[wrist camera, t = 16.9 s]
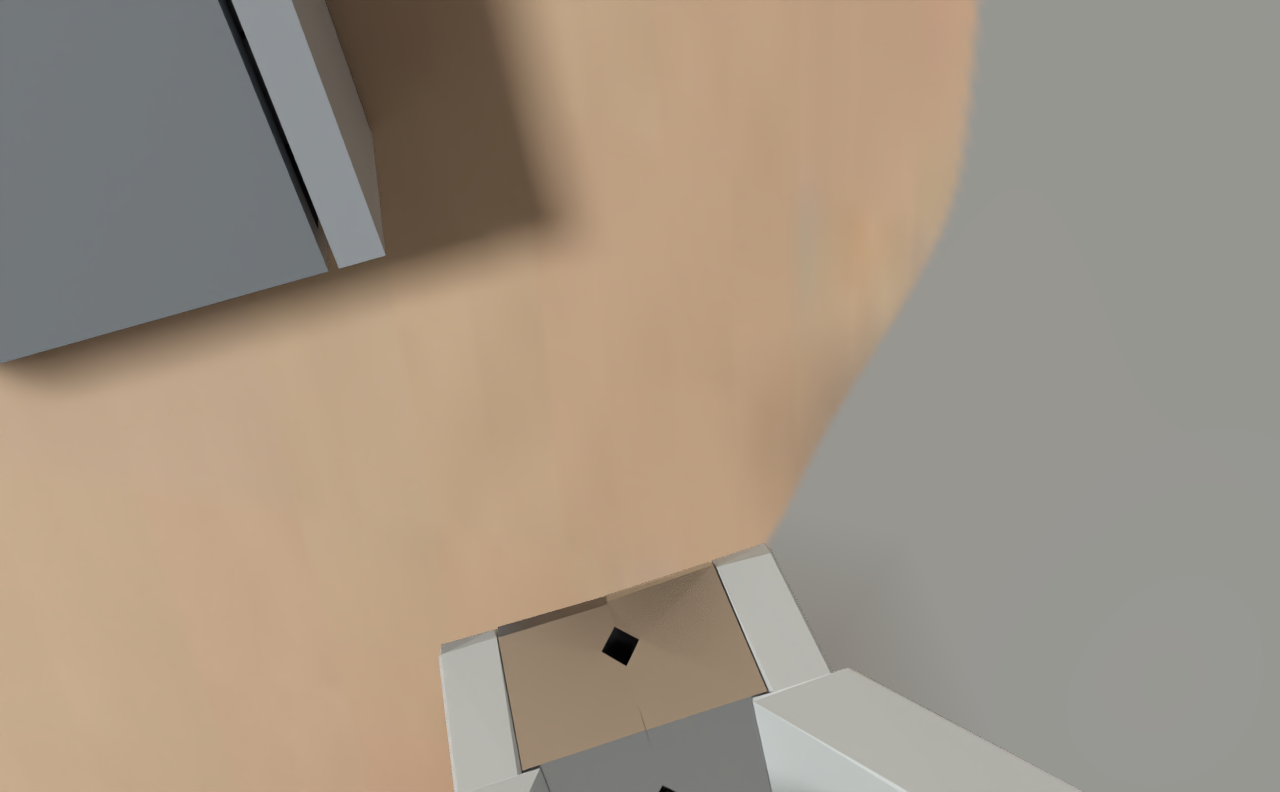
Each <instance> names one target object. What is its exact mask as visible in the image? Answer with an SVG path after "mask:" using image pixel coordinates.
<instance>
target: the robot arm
mask: <svg viewBox="0 0 1280 792" xmlns="http://www.w3.org/2000/svg"><path fill="white" fill-rule="evenodd" d="M439 665H440V673H441V682H442V690H443V699H444V707H445V716H446V724H447V732H448V741H449V749H450V758H451V766H452V775H453V783H454V792H1083V791H1081V790H1079V789H1077V788H1075V787H1073V786H1071V785H1069V784H1067V783H1066V782H1064V781H1062V780H1060V779H1058V778H1056V777H1055V776H1053V775H1051V774H1049V773H1047V772H1045V771H1043V770H1042V769H1040V768H1038V767H1036V766H1034V765H1032V764H1030V763H1028V762H1027V761H1025V760H1023V759H1021V758H1019V757H1017V756H1015V755H1013V754H1011V753H1010V752H1008V751H1006V750H1004V749H1002V748H1000V747H998V746H996V745H995V744H993V743H991V742H989V741H987V740H985V739H983V738H982V737H980V736H978V735H976V734H974V733H972V732H970V731H968V730H966V729H964V728H963V727H961V726H959V725H957V724H955V723H953V722H951V721H950V720H948V719H946V718H944V717H942V716H940V715H938V714H936V713H935V712H933V711H931V710H929V709H927V708H925V707H923V706H921V705H919V704H918V703H916V702H914V701H912V700H910V699H908V698H906V697H905V696H903V695H901V694H899V693H897V692H895V691H893V690H891V689H889V688H888V687H886V686H884V685H882V684H880V683H878V682H876V681H875V680H873V679H871V678H869V677H867V676H865V675H863V674H861V673H859V672H858V671H856V670H854V669H852V668H846V669H843V670H840V671H836V672H833V670H832V668H831V666H830V664H829V662H828V660H827V658H826V656H825V654H824V652H823V650H822V648H821V646H820V644H819V643H818V641H817V639H816V637H815V635H814V633H813V631H812V629H811V627H810V625H809V623H808V621H807V619H806V617H805V615H804V613H803V611H802V609H801V607H800V605H799V603H798V601H797V599H796V597H795V595H794V593H793V591H792V589H791V587H790V585H789V583H788V581H787V579H786V577H785V575H784V574H783V571H782V570H781V568H780V565H779V564H778V562H777V560H776V558H775V556H774V554H773V552H772V550H771V549H770V548H769V547H768V546H766V545H765V544H764V543H763V544H760V545H757V546H754V547H751V548H748V549H745V550H742V551H739V552H736V553H733V554H730V555H727V556H724V557H721V558H718V559H715V560H712V563H710V562H707V563H704V564H701V565H698V566H695V567H692V568H689V569H686V570H682V571H679V572H676V573H673V574H670V575H667V576H664V577H661V578H658V579H655V580H652V581H648V582H645V583H642V584H639V585H636V586H633V587H630V588H627V589H624V590H621V591H618V592H615V593H611V594H608V595H605V596H604V597H600V598H597V599H593V600H590V601H586V602H583V603H580V604H576V605H573V606H569V607H566V608H562V609H559V610H555V611H552V612H548V613H545V614H541V615H538V616H535V617H531V618H528V619H524V620H521V621H517V622H514V623H510V624H507V625H503V626H500V627H498V629H495V630H491V631H488V632H484V633H481V634H477V635H474V636H470V637H466V638H463V639H459V640H456V641H452V642H449V643H445V644H442V645H441V650H440V655H439Z"/></svg>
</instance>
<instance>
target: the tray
mask: <svg viewBox="0 0 1280 792" xmlns="http://www.w3.org/2000/svg"><path fill="white" fill-rule="evenodd" d="M226 2H227V5H228V7H229V10H230V12H231V15H232V17H233V20H234V22H235V25H236V27H237V30H238V32H239V35H240V37H241V39H242V42H243V44H244V47H245V49H246V52H247V54H248V57H249V59H250V62H251V64H252V67H253V69H254V72H255V74H256V77H257V79H258V82H259V84H260V87H261V89H262V92H263V94H264V97H265V99H266V101H267V104H268V106H269V109H270V111H271V114H272V116H273V119H274V121H275V124H276V126H277V129H278V131H279V134H280V136H281V139H282V141H283V144H284V145H286V144H289V145H290V148H291V150H292V153H293V155H294V158H295V160H296V163H297V165H298V168H299V170H300V173H301V175H302V178H303V180H304V183H305V185H306V188H307V190H308V193H309V195H310V198H311V200H312V203H313V205H314V208H315V210H316V213H317V215H318V218H319V220H320V223H321V225H322V228H323V230H324V233H325V235H326V238H327V240H328V243H329V245H330V248H331V250H332V253H333V255H334V258H335V260H336V263H337V265H338V268H339V269H340V268H343V267H347V266H350V265H354V264H357V263H361V262H365V261H368V260H372V259H375V258H379V257H382V256H386V254H385V245H384V235H383V226H382V217H381V208H380V199H379V190H378V181H377V172H376V163H375V154H374V145H373V136H372V133H371V130H370V128H369V125H368V122H367V119H366V116H365V113H364V111H363V108H362V105H361V102H360V99H359V96H358V93H357V91H356V88H355V85H354V82H353V79H352V76H351V74H350V71H349V68H348V65H347V62H346V59H345V57H344V54H343V51H342V48H341V45H340V42H339V39H338V37H337V34H336V31H335V28H334V25H333V22H332V20H331V17H330V14H329V11H328V8H327V5H326V2H325V0H226Z"/></svg>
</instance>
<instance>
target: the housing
mask: <svg viewBox="0 0 1280 792" xmlns="http://www.w3.org/2000/svg"><path fill="white" fill-rule="evenodd" d="M325 272H328V240H327V238H326V235H325V233H324V230H323V228H322V225H321V223H320V220H319V218H318V215H317V213H316V210H315V208H314V205H313V203H312V200H311V198H310V195H309V193H308V190H307V188H306V185H305V183H304V180H303V178H302V175H301V173H300V170H299V168H298V165H297V163H296V160H295V158H294V155H293V153H292V150H291V148H290V145H289V144H286V145H284V144H283V141H282V139H281V136H280V134H279V131H278V129H277V126H276V124H275V121H274V119H273V116H272V114H271V111H270V109H269V106H268V104H267V101H266V99H265V97H264V94H263V92H262V89H261V87H260V84H259V82H258V79H257V77H256V74H255V72H254V69H253V67H252V64H251V62H250V59H249V57H248V54H247V52H246V49H245V47H244V44H243V42H242V39H241V37H240V35H239V32H238V30H237V27H236V25H235V22H234V20H233V17H232V15H231V12H230V10H229V7H228V5H227V2H226V0H0V363H4V362H7V361H11V360H14V359H18V358H21V357H25V356H29V355H32V354H36V353H39V352H43V351H46V350H50V349H54V348H57V347H61V346H64V345H68V344H71V343H75V342H79V341H82V340H86V339H89V338H93V337H96V336H100V335H104V334H107V333H111V332H114V331H118V330H121V329H125V328H129V327H132V326H136V325H139V324H143V323H146V322H150V321H153V320H157V319H161V318H164V317H168V316H171V315H175V314H178V313H182V312H186V311H189V310H193V309H196V308H200V307H203V306H207V305H211V304H214V303H218V302H221V301H225V300H228V299H232V298H236V297H239V296H243V295H246V294H250V293H253V292H257V291H261V290H264V289H268V288H271V287H275V286H278V285H282V284H285V283H289V282H293V281H296V280H300V279H303V278H307V277H310V276H314V275H318V274H321V273H325Z"/></svg>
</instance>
